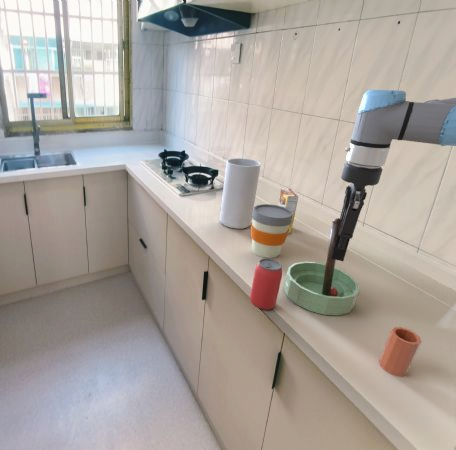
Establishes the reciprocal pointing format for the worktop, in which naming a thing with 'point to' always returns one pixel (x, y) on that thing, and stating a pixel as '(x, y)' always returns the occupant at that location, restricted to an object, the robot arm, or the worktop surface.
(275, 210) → the reusable coffee cup
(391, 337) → the crock
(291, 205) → the candy box
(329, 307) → the bowl
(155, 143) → the worktop surface
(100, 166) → the worktop surface
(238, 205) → the cylinder vase
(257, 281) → the beer can
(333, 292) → the bead
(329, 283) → the stirring stick
